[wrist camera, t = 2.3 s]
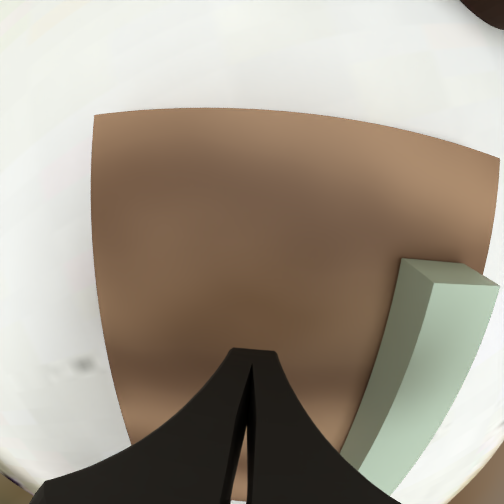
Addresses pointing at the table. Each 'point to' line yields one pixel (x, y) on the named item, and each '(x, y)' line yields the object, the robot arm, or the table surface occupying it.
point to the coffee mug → (488, 11)
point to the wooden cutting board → (267, 248)
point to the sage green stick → (418, 366)
